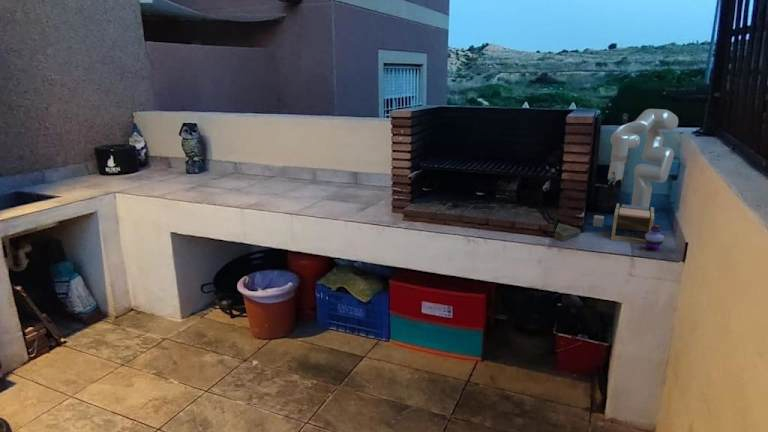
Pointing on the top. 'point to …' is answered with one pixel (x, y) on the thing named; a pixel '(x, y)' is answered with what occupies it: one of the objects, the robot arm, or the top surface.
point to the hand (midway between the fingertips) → (614, 190)
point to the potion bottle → (654, 238)
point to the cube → (598, 221)
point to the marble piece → (566, 232)
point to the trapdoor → (634, 211)
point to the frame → (631, 225)
